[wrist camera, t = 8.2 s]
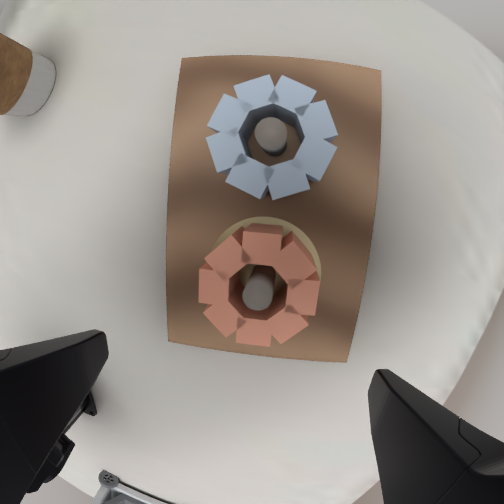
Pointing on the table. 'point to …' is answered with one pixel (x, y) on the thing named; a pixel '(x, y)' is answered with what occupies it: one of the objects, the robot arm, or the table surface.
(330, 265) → the gear board
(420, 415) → the robot arm
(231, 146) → the gear
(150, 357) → the table surface
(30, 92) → the coffee cup
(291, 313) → the gear
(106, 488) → the phone holder
